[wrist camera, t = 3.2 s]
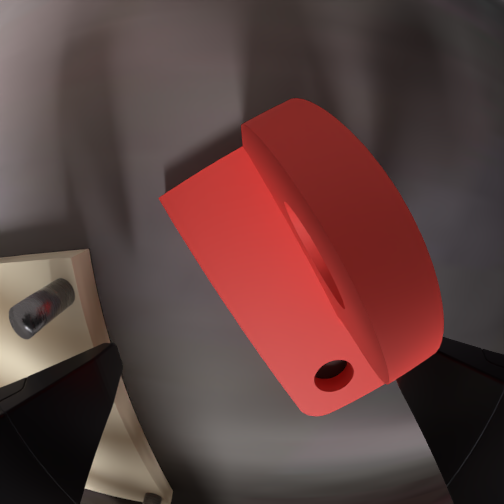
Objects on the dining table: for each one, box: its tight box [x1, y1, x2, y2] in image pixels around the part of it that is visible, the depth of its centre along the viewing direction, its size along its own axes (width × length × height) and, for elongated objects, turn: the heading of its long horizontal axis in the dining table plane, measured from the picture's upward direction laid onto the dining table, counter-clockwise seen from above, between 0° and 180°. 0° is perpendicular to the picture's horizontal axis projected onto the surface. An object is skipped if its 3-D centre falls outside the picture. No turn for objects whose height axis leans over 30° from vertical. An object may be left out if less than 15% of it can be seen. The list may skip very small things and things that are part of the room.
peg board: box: [0, 249, 173, 504], centre depth 11 cm, size 18×18×4 cm
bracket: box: [159, 98, 444, 416], centre depth 8 cm, size 12×4×8 cm, turn 30°
